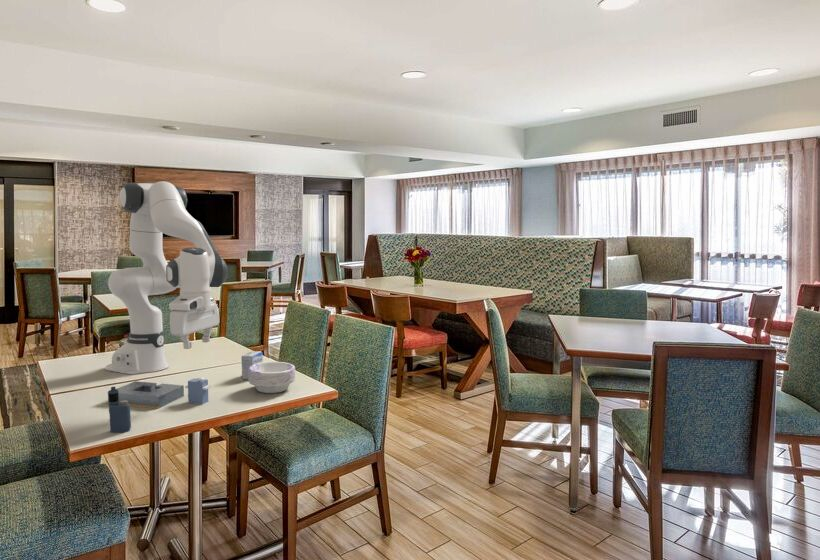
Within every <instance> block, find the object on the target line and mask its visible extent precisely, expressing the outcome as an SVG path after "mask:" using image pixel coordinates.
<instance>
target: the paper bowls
mask: <svg viewBox="0 0 820 560" xmlns="http://www.w3.org/2000/svg"><path fill="white" fill-rule="evenodd" d="M295 380H296V366H295V365H294V364H292V363H289V362H283V361H263V363H258V364H254V365H252V366H250V368H249V380H248V382H249V384H250V385H252V386H254V387H255V389H256V391H258V392H260V393H263V394H276V393H277V394H278V393H282V392H284V391H286V390H287V389H288V388H289V386H290V385H291V384H293V383H294V382H295Z"/></svg>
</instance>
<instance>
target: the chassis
mask: <svg viewBox="0 0 820 560" xmlns="http://www.w3.org/2000/svg"><path fill="white" fill-rule="evenodd" d="M116 389H117V390H118V394H119V403H120V401H122V400H128V404H129V406H130V407H137V408H143V409H144V408H146V409H160V408H162V407H165V406H167V405H169V404H171V403H173V402H175V401H177V400H179V399H181V398H182V397H184V396H185V394H184V393H185V386H184V385H182V384H169V383H159V384H157V383H156V382H147V381H136V380H135V381H133V382H130V383H127V384H125V385H122V386H119V387H118V388H116ZM106 404H107V405H109V394H108V393H107V402H106Z"/></svg>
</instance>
